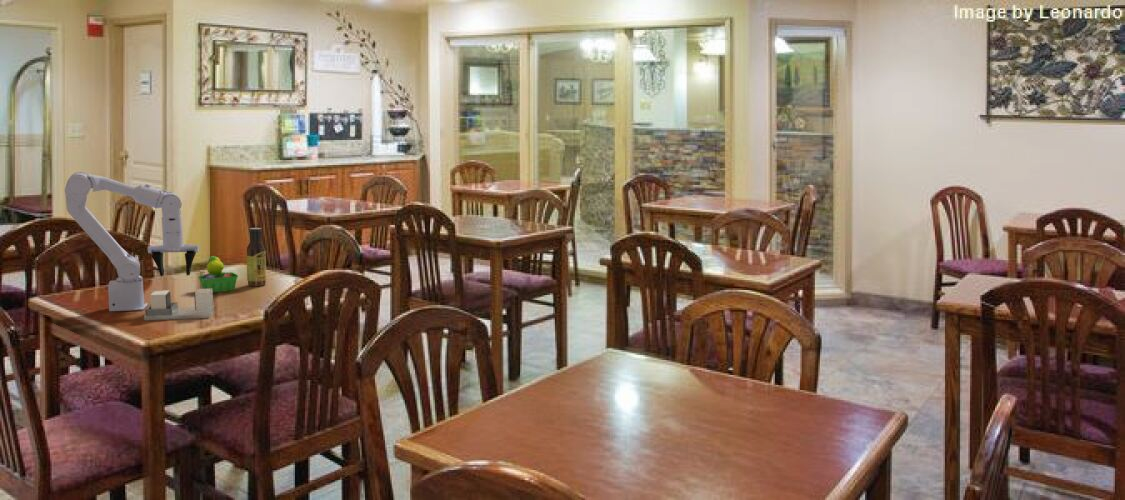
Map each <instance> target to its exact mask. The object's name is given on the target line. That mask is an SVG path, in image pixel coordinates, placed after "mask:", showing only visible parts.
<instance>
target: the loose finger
mask: <svg viewBox="0 0 1125 500" xmlns="http://www.w3.org/2000/svg"><path fill="white" fill-rule="evenodd" d="M171 300H172V299H171V291H170V289H166V290H164V289H163V290H154V291H152V293H151V294H150V304H151V309H170V308H171V303H172V301H171Z"/></svg>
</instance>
